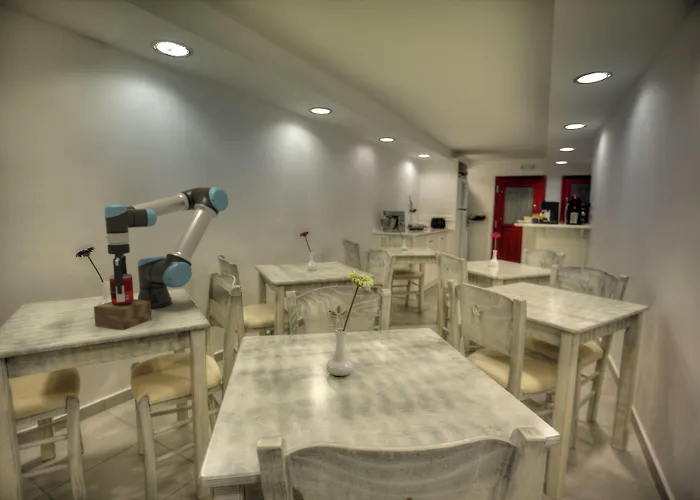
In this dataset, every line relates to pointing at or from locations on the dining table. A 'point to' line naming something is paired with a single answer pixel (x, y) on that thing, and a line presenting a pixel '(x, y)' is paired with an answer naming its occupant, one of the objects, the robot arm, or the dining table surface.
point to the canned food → (127, 289)
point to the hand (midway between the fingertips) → (122, 299)
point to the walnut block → (122, 314)
